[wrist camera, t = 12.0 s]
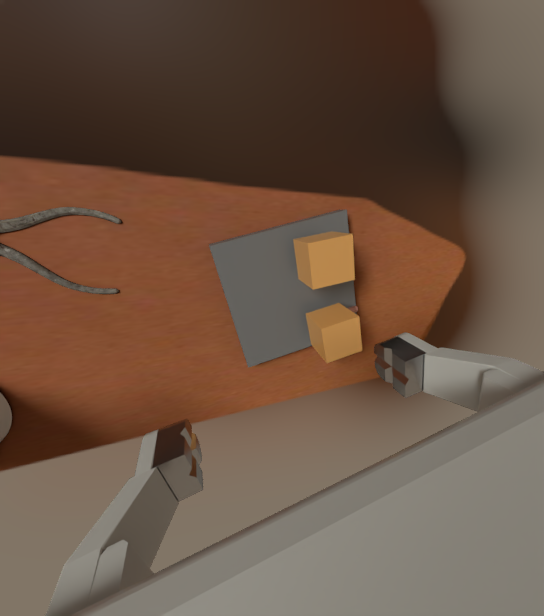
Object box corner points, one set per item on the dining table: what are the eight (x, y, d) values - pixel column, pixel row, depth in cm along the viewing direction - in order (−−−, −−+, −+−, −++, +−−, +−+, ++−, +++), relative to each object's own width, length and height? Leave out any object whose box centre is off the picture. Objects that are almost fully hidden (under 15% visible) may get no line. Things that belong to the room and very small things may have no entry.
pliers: (132, 293, 31) (-81, 302, 26) (134, 291, 32) (-72, 300, 27) (118, 208, 27) (-130, 201, 23) (120, 208, 28) (-119, 201, 23)
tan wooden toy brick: (293, 239, 30) (307, 243, 25) (331, 231, 31) (352, 233, 26) (298, 279, 32) (312, 289, 27) (334, 270, 33) (354, 279, 28)
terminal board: (246, 360, 39) (257, 398, 31) (209, 244, 31) (210, 255, 23) (351, 324, 41) (386, 351, 33) (339, 209, 34) (380, 209, 26)
